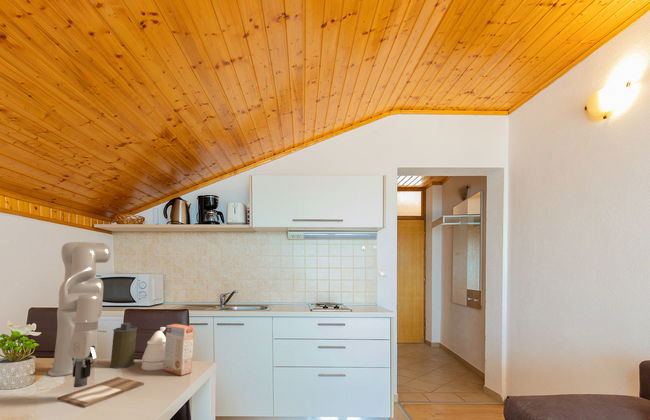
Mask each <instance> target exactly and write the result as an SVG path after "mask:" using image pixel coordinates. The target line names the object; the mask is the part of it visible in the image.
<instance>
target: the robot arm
mask: <svg viewBox="0 0 650 420" xmlns="http://www.w3.org/2000/svg"><path fill="white" fill-rule="evenodd" d="M60 252H61V258H62V262H63V265H64V280H63V282H62V283H61V285H60V287H59V291H58V308H57V312H56V318H57V328H56V329H57V330H56V331H57V332H56V339H55V341H56V342H55V349H54V357H53V362H51V364H50V365H51V366H52V369H49V370H48V373H47V374H48V376H50V377H51V376H52V377H63V376H69V375H72V377H73V378H75V370H76V359H81V360H83V367H82V368H81V377H80V378H81V379H83V378H86V377H87V378H89V377H90V376H91V369H92V365H93V363H94V362H95V361H97V353H98V340H99V339H98V328H99V327H98V326H99V319H100V318H101V316H102V310H103V302H104V301H103V300H104V281H103V280H102V279H101V278H100V277H99V278H98V277H95V276H96V274H97V267H96V265H97V264H105V263H108V262H109V260H110V259H111V249H110V247H109V245H108V244H106V243H103V242H86V241H85V242H83V241H71V242H66V243H64V244H63V245H62V247H61V251H60ZM88 356H89V357H88ZM88 359H89V360H88ZM86 360H88V361H87V362H86Z"/></svg>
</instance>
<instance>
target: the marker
mask: <svg viewBox="0 0 650 420" xmlns="http://www.w3.org/2000/svg"><path fill="white" fill-rule="evenodd" d="M88 357H89V356H88ZM88 360H89V359H88ZM88 360H86V362H87V361H88ZM82 367H83V360H81V359H76V370H75V377H74V382H73V388H82V387H85V386H87V385H88V377H86V378H83V379H81V378H80V377H81V368H82Z"/></svg>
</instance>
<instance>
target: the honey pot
mask: <svg viewBox="0 0 650 420" xmlns="http://www.w3.org/2000/svg"><path fill="white" fill-rule="evenodd" d="M166 327H167V326H161V327H159V329H160V330H156V331H155V332H154V333H153V335H151V337H150V339H149V340H148V341H147V342H146V344H147V346H146V348H145V349H144V350H145V351H144V353H143V355H142V358H141V369H142V370H145V371H158V370H163V365H164V353H165V340H166V334H164V331H166Z"/></svg>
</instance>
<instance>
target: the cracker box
mask: <svg viewBox="0 0 650 420" xmlns="http://www.w3.org/2000/svg"><path fill="white" fill-rule="evenodd" d="M165 327H166V329H165V331H166V332H165V337H166V340H165V353H164V365H163V369H162V371H165V372H167V373H170V374H175V375H177V376H184V375H188V374H192V367H193V353H194V352H193V350H194V337H195V326H192V325H186V324H185V325H184V324H180V323H173V324H168V325H166V326H165Z"/></svg>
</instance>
